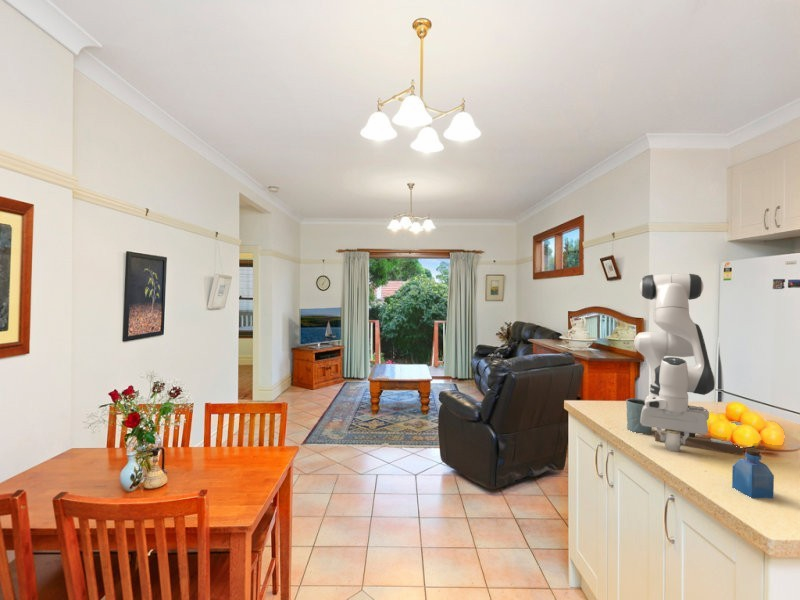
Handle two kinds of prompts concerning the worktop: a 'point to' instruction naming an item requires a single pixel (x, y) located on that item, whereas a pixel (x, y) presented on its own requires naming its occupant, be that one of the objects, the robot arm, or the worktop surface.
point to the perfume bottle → (753, 476)
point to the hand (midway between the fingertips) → (672, 442)
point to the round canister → (672, 440)
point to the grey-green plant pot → (636, 416)
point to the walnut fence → (708, 444)
